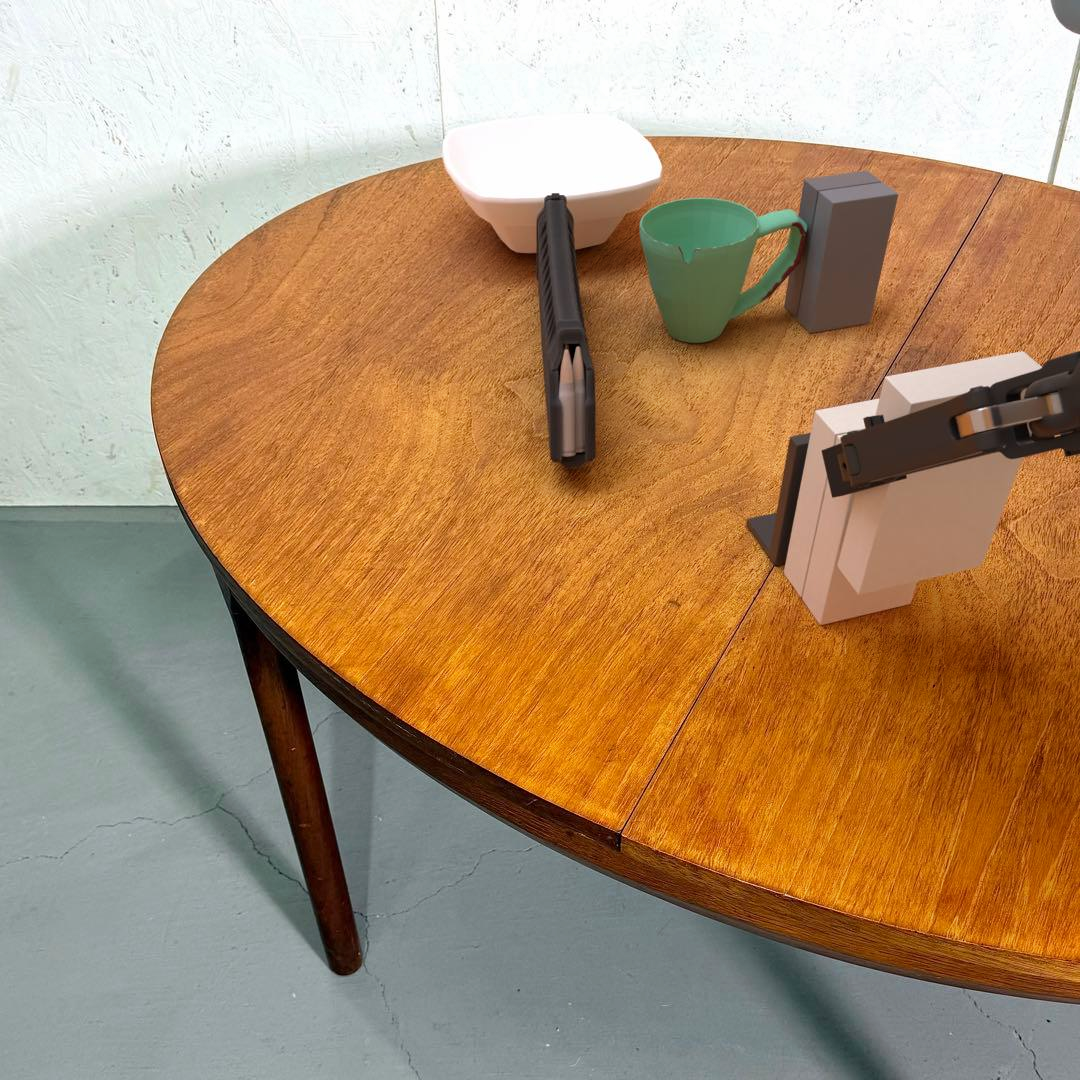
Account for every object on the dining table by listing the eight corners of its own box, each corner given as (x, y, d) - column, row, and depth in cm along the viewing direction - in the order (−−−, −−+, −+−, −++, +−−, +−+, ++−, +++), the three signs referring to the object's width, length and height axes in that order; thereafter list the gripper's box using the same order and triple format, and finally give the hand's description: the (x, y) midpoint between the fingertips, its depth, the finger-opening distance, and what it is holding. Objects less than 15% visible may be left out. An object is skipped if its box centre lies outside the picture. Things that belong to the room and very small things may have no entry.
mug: (663, 367, 90) (664, 257, 83) (624, 314, 97) (623, 209, 90) (821, 334, 92) (835, 224, 86) (772, 284, 99) (781, 180, 93)
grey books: (842, 296, 99) (867, 170, 91) (870, 323, 95) (899, 193, 87) (783, 306, 97) (803, 178, 89) (809, 333, 94) (833, 203, 86)
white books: (835, 505, 76) (871, 346, 67) (914, 603, 68) (966, 438, 60) (745, 524, 74) (770, 364, 66) (816, 626, 67) (854, 461, 58)
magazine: (534, 186, 96) (547, 237, 69) (570, 185, 96) (597, 235, 69) (538, 371, 103) (550, 484, 76) (571, 370, 103) (596, 483, 76)
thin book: (957, 539, 63) (1023, 350, 54) (982, 566, 61) (1054, 376, 53) (836, 566, 61) (884, 376, 53) (858, 595, 60) (911, 403, 51)
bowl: (469, 295, 99) (464, 207, 94) (434, 205, 115) (427, 124, 109) (678, 269, 103) (686, 183, 97) (617, 185, 118) (620, 106, 112)
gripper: (1014, 513, 35) (747, 560, 57) (1495, 407, 40) (1074, 489, 62) (962, 295, 36) (717, 426, 58) (1445, 213, 40) (1045, 364, 62)
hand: (902, 458), depth 60 cm, fingers closed on thin book, 8 cm apart
